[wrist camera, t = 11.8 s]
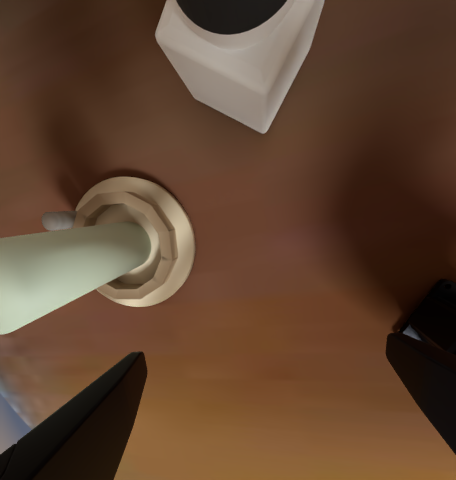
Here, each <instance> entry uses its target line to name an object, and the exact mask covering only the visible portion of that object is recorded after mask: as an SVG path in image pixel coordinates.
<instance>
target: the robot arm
mask: <svg viewBox="0 0 456 480" xmlns="http://www.w3.org/2000/svg"><path fill="white" fill-rule="evenodd" d="M446 284H447V286H446V287H445V288H444V286H445V285H446ZM386 356H387V359H388V361H389V362H390V364H391V365H392V367H393V368H394V370H395V372H396V373H397V375H398V376H399V378H400V379H401V381H402V382H403V384H404V385H405V387H406V388H407V390H408V391H409V393H410V394H411V396H412V397H413V399H414V400H415V402H416V403H417V405H418V406H419V407H420V409H421V410H422V412H423V413H424V414H425V416H426V417H427V418H428V419H429V421H430V422H431V423H432V425H433V426H434V427H435V429H436V430H437V431H438V432H439V434H440V435H441V436H442V438H443V439H444V440H445V442H446V443H447V444H448V445H449V447H450V448H451V449H452V451H453V452H454V453H455V455H456V283H454V282H452V281H449V280H447V279H442V280H440V281H439V282H438V283H437V284H436V285H435V286H434V288H433V289H432V290H431V291H430V293H429V294H428V295H427V297H426V298H425V299H424V300H423V302H422V303H421V304H420V305H419V307H418V308H417V309H416V310H415V312H414V313H413V314H412V316H411V317H410V318H409V319H408V321H407V322H406V323H405V324H404V326H403V327H402V328H401V329H400V331H399V332H398V333H390V334H388V336H387V344H386ZM146 378H147V366H146V361H145V356H144V353H143V352H141V351H140V352H131V353H130V354H128V355H127V356H126V357H125V358H123V359H122V360H121V361H120V362H118V363H117V364H116V365H114V366H113V367H112V368H111V369H109V370H108V371H107V372H105V373H104V374H103V375H102V376H100V377H99V378H98V379H96V380H95V381H94V382H93V383H91V384H90V385H89V386H88V387H86V388H85V389H84V390H82V391H81V392H80V393H79V394H77V395H76V396H75V397H73V398H72V399H71V400H70V401H68V402H67V403H66V404H65V405H63V406H62V407H61V408H59V409H58V410H57V411H56V412H54V413H53V414H52V415H50V416H49V417H48V418H47V419H45V420H44V421H43V422H41V423H40V424H39V425H38V426H36V427H35V428H34V429H33V430H31V431H30V432H29V433H27V434H26V435H25V436H24V437H22V438H21V439H20V440H19V441H18V442H17V444H14V445H12V446H11V447H10V448H8V449H7V450H6V451H4V452H3V453H2V454H0V480H114V477H115V474H116V472H117V469H118V466H119V464H120V461H121V458H122V455H123V453H124V450H125V447H126V445H127V442H128V439H129V436H130V434H131V431H132V428H133V425H134V422H135V418H136V415H137V411H138V407H139V404H140V400H141V396H142V393H143V389H144V385H145V382H146Z"/></svg>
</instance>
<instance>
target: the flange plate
mask: <svg viewBox="0 0 456 480" xmlns="http://www.w3.org/2000/svg"><path fill="white" fill-rule="evenodd" d="M125 221H129V222H134V223H137V224H138V225H140V226H141V227H142V228H144V230H145V231H146V232H147V234H148V235H149V238H150V241H151V253H150V256H149V258H148V260H147V261H146V262H145V263H144V264H142V265H141V266H139V267H137V268H135V269H133V270H131V271H129V272H127V273H125V274H123V275H121V276H119V277H117V278H115V279H114V280H112V281H110V282H108V283H106V284H104V285H102V286H100V287H98V288H96V290H97V291H99V292H100V293H101V294H102V295H104V296H105V297H107V298H109V299H111V300H113V301H115V302H117V303H120V304H123V305H127V306H134V307H144V306H150V305H154V304H157V303H160V302H162V301H164V300H166V299H167V298H169V297H170V296H172V295H173V294H174V293H175V292H176V291H177V290H178V289H179V288H180V287H181V286H182V285H183V283H184V282H185V281H186V279H187V278H188V276H189V274H190V272H191V270H192V267H193V264H194V259H195V252H196V241H195V234H194V230H193V227H192V223H191V221H190V219H189V216H188V214H187V213H186V211H185V209H184V208H183V206H182V205H181V204H180V202H179V201H178V200H177V199H176V198H175V197H174V196H173V195H172V194H171V193H170V192H168V191H167V190H166V189H165V188H163V187H161V186H159V185H158V184H156V183H153V182H151V181H148V180H144V179H140V178H135V177H115V178H110V179H107V180H104V181H102V182H100V183H98V184H96V185H95V186H94V187H92V188H91V189H90V190H89V191H88V192H87V193H86V194H85V195H84V196H83V197H82V199H81V200H80V202H79V204H78V206H77V207H76V210H75V211H62V212H46V213H44V214H43V216H42V224H43V226H44V227H45V228H46V229H47V230H50V231H53V230H60V229H68V228H71V229H73V228H81V227H88V226H95V225H103V224H110V223H118V222H125Z"/></svg>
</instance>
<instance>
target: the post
mask: <svg viewBox="0 0 456 480" xmlns="http://www.w3.org/2000/svg"><path fill="white" fill-rule="evenodd" d="M150 253H151V241H150V238H149V235H148V234H147V232H146V231H145V230H144V228H142V227H141V226H140V225H138V224H137V223H134V222H129V221H125V222H118V223H110V224H103V225H95V226H88V227H81V228H73V229H66V230H58V231H51V232H44V233H36V234H29V235H21V236H14V237H7V238H0V334H7V333H10V332H12V331H14V330H16V329H18V328H20V327H22V326H24V325H26V324H28V323H30V322H32V321H34V320H36V319H38V318H40V317H42V316H44V315H45V314H47V313H49V312H51V311H53V310H55V309H57V308H59V307H61V306H63V305H65V304H67V303H69V302H71V301H73V300H75V299H77V298H79V297H80V296H82V295H84V294H86V293H88V292H90V291H92V290H94V289H96V288H98V287H100V286H102V285H104V284H106V283H108V282H110V281H112V280H114V279H115V278H117V277H119V276H121V275H123V274H125V273H127V272H129V271H131V270H133V269H135V268H137V267H139V266H141V265H142V264H144V263H145V262H146V261H147V260H148V258H149V256H150Z"/></svg>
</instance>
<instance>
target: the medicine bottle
mask: <svg viewBox="0 0 456 480" xmlns="http://www.w3.org/2000/svg"><path fill="white" fill-rule="evenodd" d="M324 1H325V0H167V1H166V3H165V6H164V9H163V12H162V15H161V18H160V20H159V23H158V26H157V29H156V32H155V37H156V40H157V43H158V44H159V46H160V47H161V49H162V50H163V52H164V53H165V55H166V56H167V58H168V59H169V61H170V62H171V64H172V65H173V67H174V68H175V70H176V71H177V73H178V74H179V76H180V77H181V79H182V81H183V82H184V84H185V85H186V87H187V88H188V90H189V91H190V93H191V94H192V96H193V97H194V98H195V99H196V100H198V101H200V102H202V103H204V104H206V105H208V106H210V107H212V108H214V109H216V110H218V111H219V112H221V113H223V114H225V115H227V116H229V117H231V118H233V119H235V120H237V121H239V122H241V123H243V124H245V125H246V126H248V127H250V128H252V129H254V130H256V131H258V132H260V133H263V134H264V133H266V132H267V131H268V129H269V127H270V125H271V123H272V121H273V119H274V117H275V115H276V113H277V111H278V109H279V107H280V106H281V104H282V102H283V100H284V98H285V96H286V94H287V92H288V90H289V88H290V86H291V84H292V82H293V80H294V78H295V77H296V75H297V73H298V71H299V69H300V67H301V65H302V63H303V61H304V59H305V57H306V55H307V53H308V51H309V50H310V47H311V43H312V40H313V37H314V34H315V30H316V27H317V24H318V21H319V17H320V14H321V11H322V7H323V4H324Z"/></svg>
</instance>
